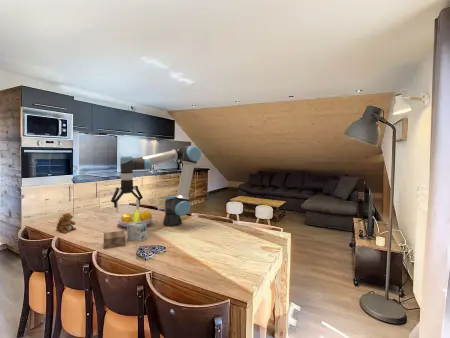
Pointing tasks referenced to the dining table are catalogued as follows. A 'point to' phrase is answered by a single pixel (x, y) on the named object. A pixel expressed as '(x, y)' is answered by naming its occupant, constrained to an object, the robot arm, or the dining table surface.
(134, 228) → the light bulb box
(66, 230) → the stuffed squirrel
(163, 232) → the dining table surface
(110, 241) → the walnut step
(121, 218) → the fruit bowl
